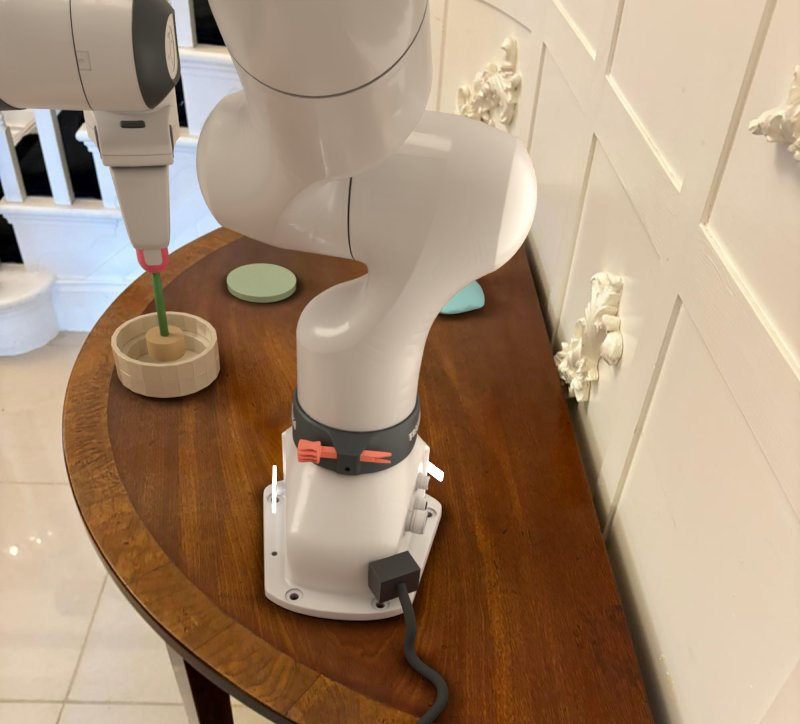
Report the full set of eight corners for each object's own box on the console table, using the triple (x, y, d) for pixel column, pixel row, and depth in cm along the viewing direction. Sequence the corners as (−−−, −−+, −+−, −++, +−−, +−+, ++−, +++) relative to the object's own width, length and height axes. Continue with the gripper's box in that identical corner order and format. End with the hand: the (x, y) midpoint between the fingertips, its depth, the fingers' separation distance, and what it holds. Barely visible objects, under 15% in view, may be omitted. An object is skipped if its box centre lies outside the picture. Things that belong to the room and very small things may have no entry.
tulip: (180, 363, 94) (163, 241, 83) (143, 359, 94) (122, 237, 83) (190, 344, 97) (174, 224, 87) (154, 340, 97) (135, 220, 86)
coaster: (290, 306, 111) (290, 299, 111) (220, 299, 111) (219, 292, 111) (301, 272, 118) (301, 266, 118) (235, 266, 118) (234, 260, 118)
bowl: (207, 406, 94) (203, 370, 90) (105, 396, 93) (96, 360, 90) (229, 351, 102) (226, 316, 99) (135, 342, 102) (129, 307, 99)
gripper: (96, 85, 83) (119, 215, 93) (99, 154, 69) (126, 298, 79) (158, 85, 85) (174, 213, 94) (173, 153, 71) (190, 294, 81)
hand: (152, 252), depth 87 cm, fingers closed on tulip, 3 cm apart
